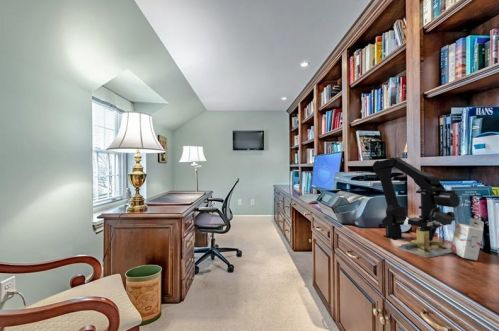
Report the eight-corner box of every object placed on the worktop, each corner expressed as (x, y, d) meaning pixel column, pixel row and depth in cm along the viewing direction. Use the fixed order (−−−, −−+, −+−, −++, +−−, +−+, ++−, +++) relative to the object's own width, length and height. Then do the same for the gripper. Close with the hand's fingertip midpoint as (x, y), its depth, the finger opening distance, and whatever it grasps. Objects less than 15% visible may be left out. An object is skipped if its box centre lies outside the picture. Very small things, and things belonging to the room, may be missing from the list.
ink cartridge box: (449, 250, 101) (456, 214, 101) (463, 253, 100) (470, 217, 100) (462, 257, 93) (470, 219, 92) (478, 261, 92) (486, 222, 91)
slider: (411, 244, 109) (410, 226, 110) (416, 244, 110) (415, 225, 110) (428, 250, 102) (427, 230, 102) (433, 249, 103) (433, 229, 103)
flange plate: (397, 248, 109) (397, 246, 109) (429, 243, 114) (429, 241, 114) (426, 258, 96) (426, 256, 96) (460, 251, 102) (460, 250, 102)
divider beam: (400, 247, 108) (400, 241, 108) (431, 242, 113) (431, 236, 113) (417, 252, 100) (417, 246, 100) (449, 247, 106) (448, 241, 106)
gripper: (432, 208, 97) (433, 249, 97) (464, 205, 103) (466, 243, 102) (406, 204, 107) (407, 241, 107) (437, 202, 113) (438, 236, 113)
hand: (430, 240), depth 107 cm, fingers closed
